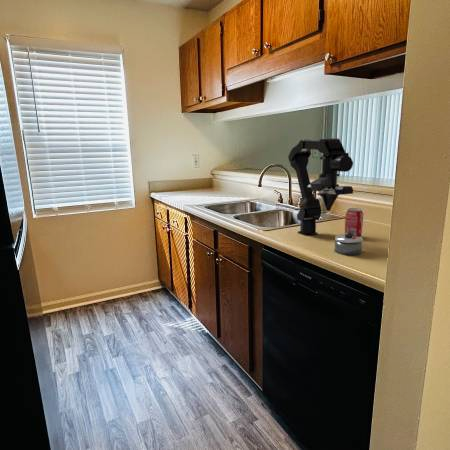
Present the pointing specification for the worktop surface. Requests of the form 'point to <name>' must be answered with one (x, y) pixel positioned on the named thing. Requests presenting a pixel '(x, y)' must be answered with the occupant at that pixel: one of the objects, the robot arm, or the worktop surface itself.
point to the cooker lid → (348, 238)
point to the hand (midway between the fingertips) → (328, 210)
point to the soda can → (354, 221)
